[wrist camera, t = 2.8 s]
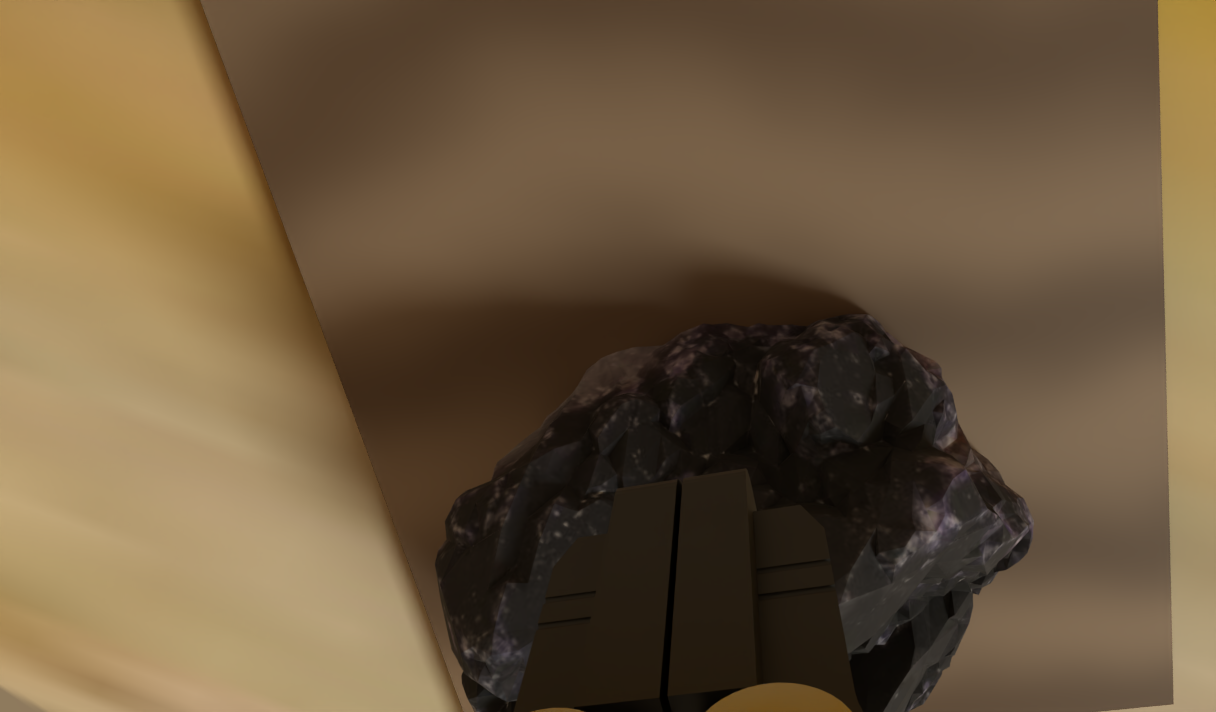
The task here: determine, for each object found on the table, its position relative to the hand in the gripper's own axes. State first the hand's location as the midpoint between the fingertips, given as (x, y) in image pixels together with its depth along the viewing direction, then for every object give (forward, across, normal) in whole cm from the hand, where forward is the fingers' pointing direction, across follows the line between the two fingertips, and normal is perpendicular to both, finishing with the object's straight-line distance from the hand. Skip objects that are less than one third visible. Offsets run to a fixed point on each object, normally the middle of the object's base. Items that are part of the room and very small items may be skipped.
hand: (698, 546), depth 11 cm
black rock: (+14, +1, +8) cm, 16 cm away
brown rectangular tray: (+14, 0, +2) cm, 14 cm away
